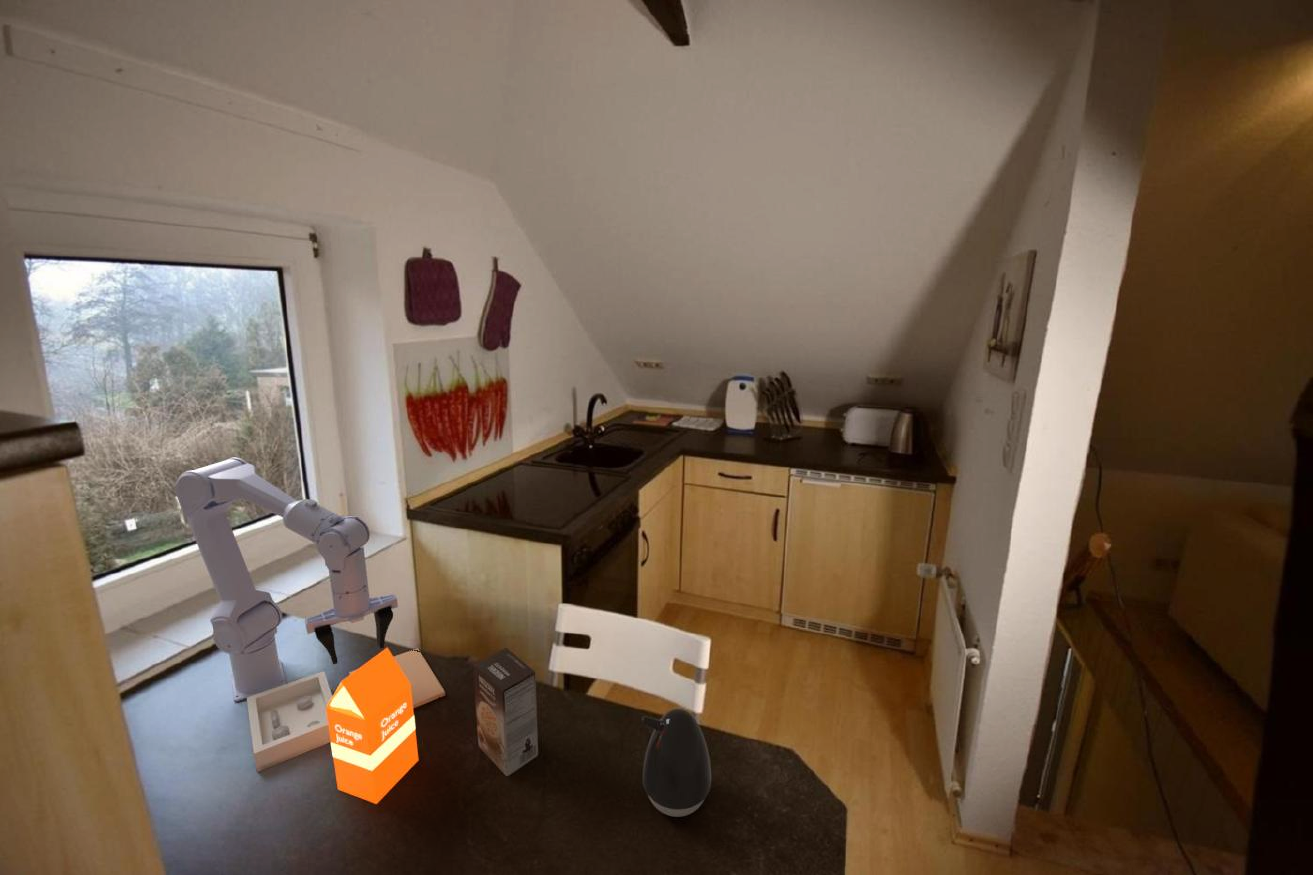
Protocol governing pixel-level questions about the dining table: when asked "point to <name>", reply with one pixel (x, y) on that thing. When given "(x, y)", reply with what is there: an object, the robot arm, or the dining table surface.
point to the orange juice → (372, 728)
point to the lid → (419, 677)
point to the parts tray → (289, 720)
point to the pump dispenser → (676, 764)
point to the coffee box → (506, 710)
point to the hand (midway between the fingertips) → (358, 653)
